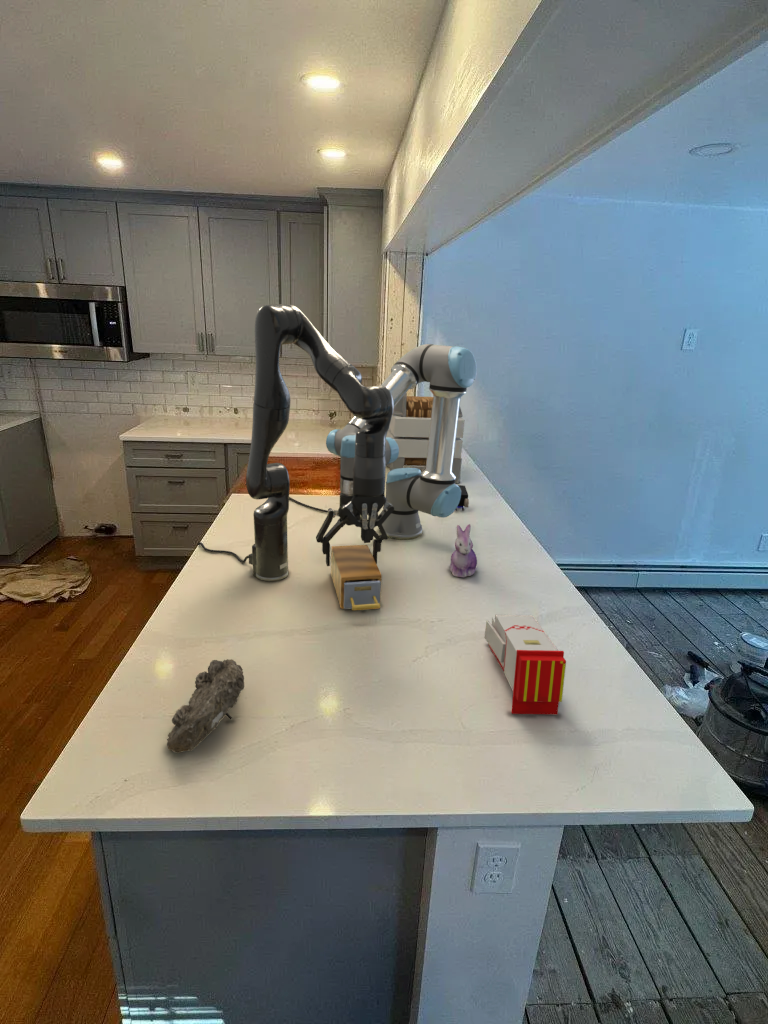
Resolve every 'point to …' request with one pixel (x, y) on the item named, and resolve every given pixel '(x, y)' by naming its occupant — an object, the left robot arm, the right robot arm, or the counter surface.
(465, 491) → the figurine character
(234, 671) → the fossil
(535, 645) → the toy
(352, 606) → the drawer
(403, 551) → the counter surface
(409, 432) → the white slatted crate
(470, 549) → the figurine
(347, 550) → the cabinet
